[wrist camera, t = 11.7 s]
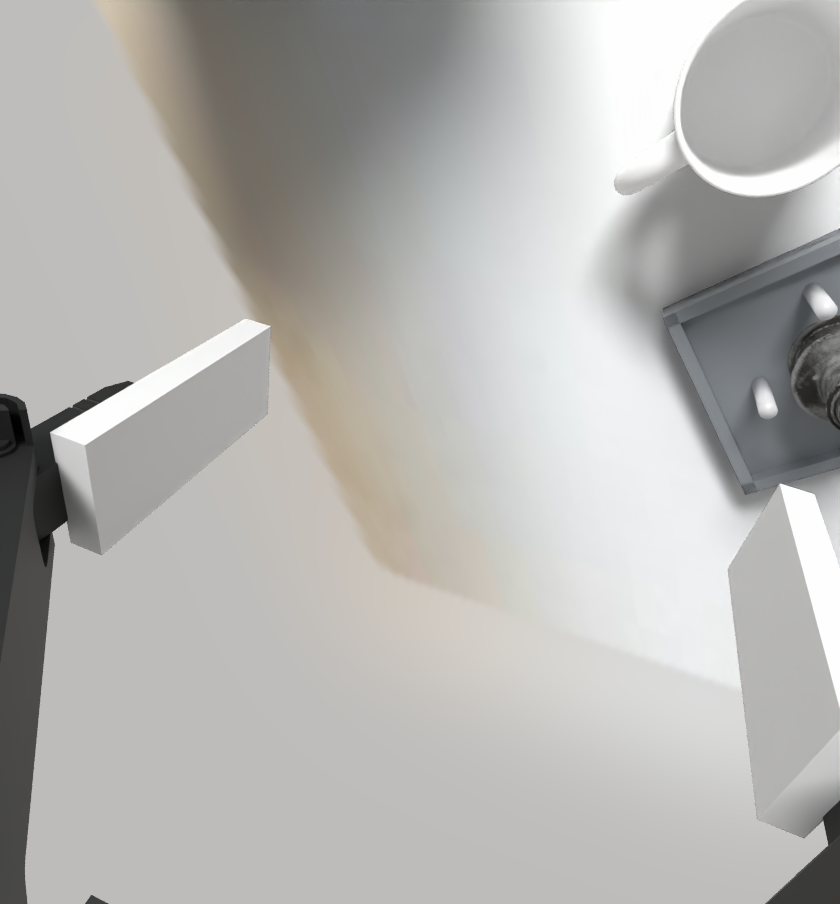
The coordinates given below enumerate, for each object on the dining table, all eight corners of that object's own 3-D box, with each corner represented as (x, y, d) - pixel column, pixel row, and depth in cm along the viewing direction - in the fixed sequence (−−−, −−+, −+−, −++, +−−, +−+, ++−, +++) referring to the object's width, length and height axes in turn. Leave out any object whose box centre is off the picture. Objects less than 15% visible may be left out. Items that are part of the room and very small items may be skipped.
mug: (650, 235, 41) (643, 272, 32) (590, 114, 39) (565, 118, 30) (864, 118, 35) (925, 124, 26) (805, -34, 33) (850, -80, 24)
